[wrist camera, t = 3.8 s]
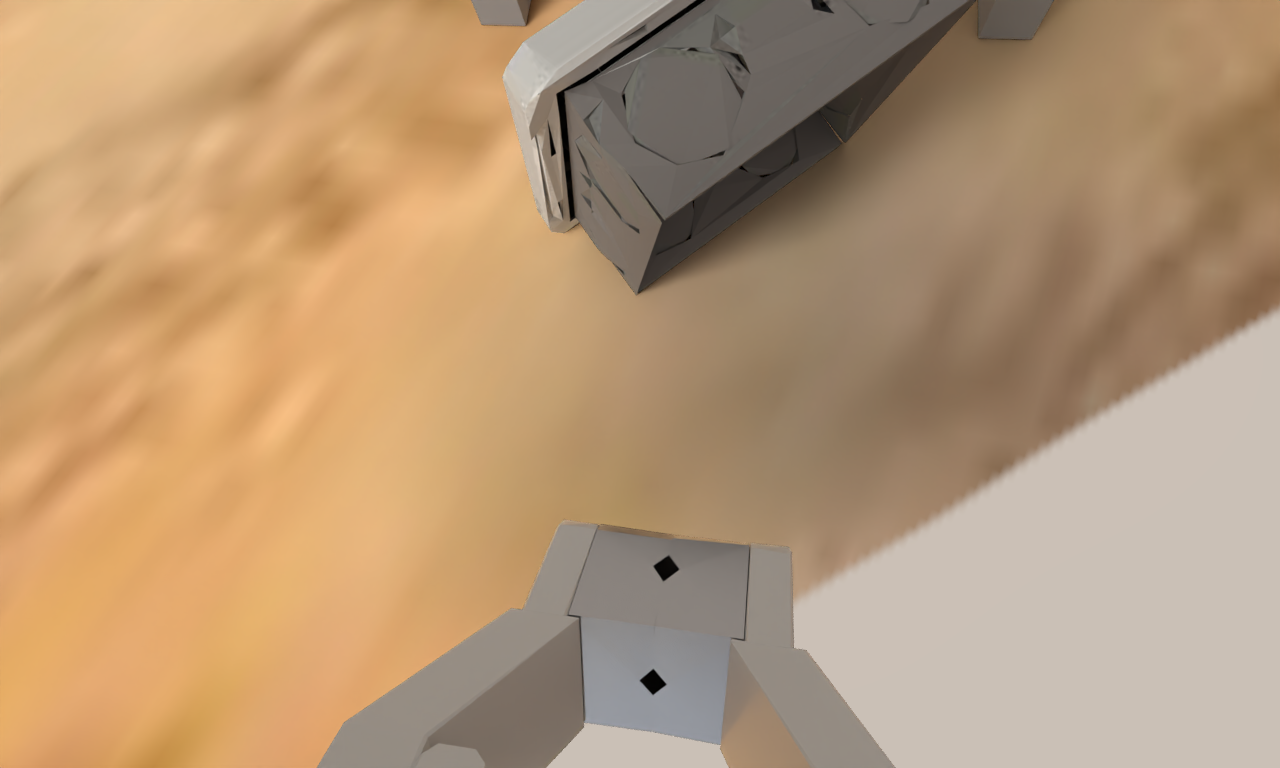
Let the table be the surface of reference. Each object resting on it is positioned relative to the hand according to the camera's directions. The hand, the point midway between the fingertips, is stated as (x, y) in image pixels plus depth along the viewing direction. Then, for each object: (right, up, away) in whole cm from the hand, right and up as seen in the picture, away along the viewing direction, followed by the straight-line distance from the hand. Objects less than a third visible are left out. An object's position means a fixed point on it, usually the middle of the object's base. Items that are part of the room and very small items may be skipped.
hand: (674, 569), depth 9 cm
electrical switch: (+2, +8, +12) cm, 14 cm away
